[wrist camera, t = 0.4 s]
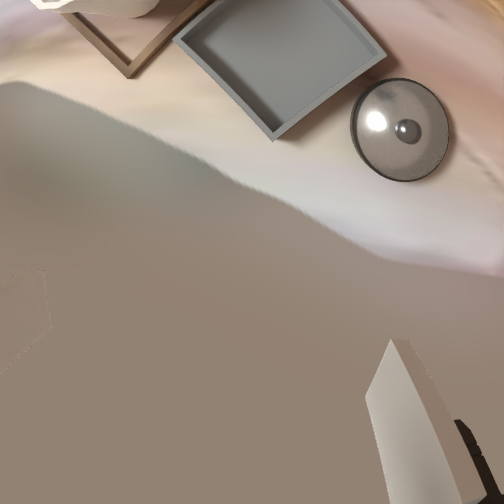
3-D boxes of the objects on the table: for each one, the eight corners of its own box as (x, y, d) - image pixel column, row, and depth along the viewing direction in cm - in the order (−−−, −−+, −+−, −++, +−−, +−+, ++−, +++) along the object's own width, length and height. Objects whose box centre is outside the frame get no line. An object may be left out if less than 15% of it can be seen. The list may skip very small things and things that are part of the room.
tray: (284, -37, 20) (284, -47, 18) (379, 58, 24) (387, 55, 22) (180, 43, 26) (171, 39, 23) (273, 139, 30) (272, 142, 27)
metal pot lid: (403, 61, 24) (417, 57, 21) (455, 143, 27) (472, 149, 24) (328, 115, 28) (333, 117, 25) (386, 196, 31) (397, 206, 28)
